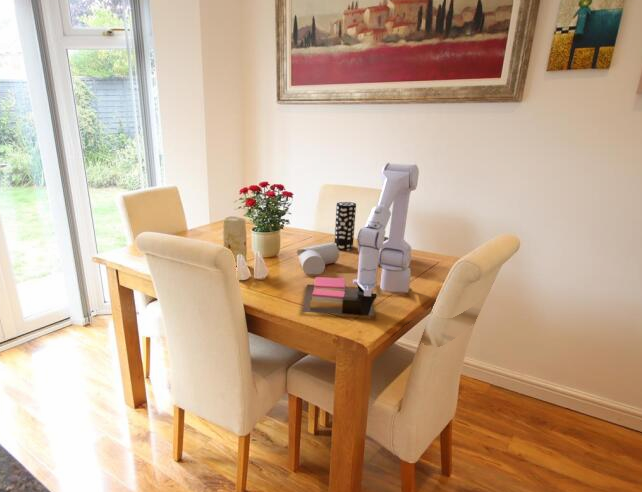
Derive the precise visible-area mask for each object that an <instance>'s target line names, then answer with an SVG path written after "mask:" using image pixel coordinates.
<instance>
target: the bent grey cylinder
mask: <svg viewBox="0 0 642 492" xmlns="http://www.w3.org/2000/svg"><path fill="white" fill-rule="evenodd" d="M296 255H297V256H298V258H297V259H298V261H299V263H300V265H301V268H302V270H303V273H304V274H305V275H321V274H322V273H323V272H324V271H325V269H326V265H329V264H333V263H336V262H338V260H339V258H340V250H338V247H337V246H336V245H335V244H334V242H332V241H331V242H326V243H322V244H321V243H320V244H317V245H312V246H308V247H303V248H299V249H297V250H296Z"/></svg>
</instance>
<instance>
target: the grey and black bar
mask: <svg viewBox="0 0 642 492" xmlns="http://www.w3.org/2000/svg"><path fill="white" fill-rule="evenodd" d="M310 309H312V310H328V311H342V313H354V314H361V307H360V301H359V298H357V297H343V302H328V301H311V300H310Z"/></svg>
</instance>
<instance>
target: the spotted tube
mask: <svg viewBox="0 0 642 492" xmlns="http://www.w3.org/2000/svg"><path fill="white" fill-rule="evenodd" d="M335 209H336V210H335V224H334V225H335V226H334V241H333V243H334V244H335V245H336V246H337V247H338V250H339V251H342V252H343V251H344V252H346V251H351V250H353V249H354V239H355V225H356V213H357V203H355V202H351V201H340V202H336V207H335Z"/></svg>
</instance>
